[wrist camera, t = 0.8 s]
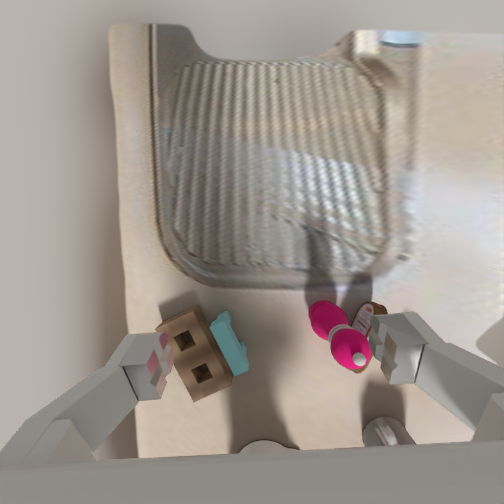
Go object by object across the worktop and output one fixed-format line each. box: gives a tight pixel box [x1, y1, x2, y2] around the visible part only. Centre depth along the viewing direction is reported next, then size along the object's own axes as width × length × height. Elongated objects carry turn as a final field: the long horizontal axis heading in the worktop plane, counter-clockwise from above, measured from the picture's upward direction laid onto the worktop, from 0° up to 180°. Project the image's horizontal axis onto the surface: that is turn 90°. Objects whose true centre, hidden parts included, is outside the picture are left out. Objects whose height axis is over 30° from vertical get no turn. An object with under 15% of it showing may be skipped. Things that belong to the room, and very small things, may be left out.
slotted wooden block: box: [155, 305, 233, 402], centre depth 53 cm, size 18×9×4 cm, turn 26°
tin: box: [347, 302, 388, 373], centre depth 50 cm, size 15×3×8 cm, turn 158°
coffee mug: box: [363, 416, 416, 447], centre depth 51 cm, size 13×10×10 cm
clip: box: [209, 310, 249, 376], centre depth 50 cm, size 11×3×8 cm, turn 26°
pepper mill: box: [309, 301, 371, 369], centre depth 44 cm, size 7×7×20 cm
